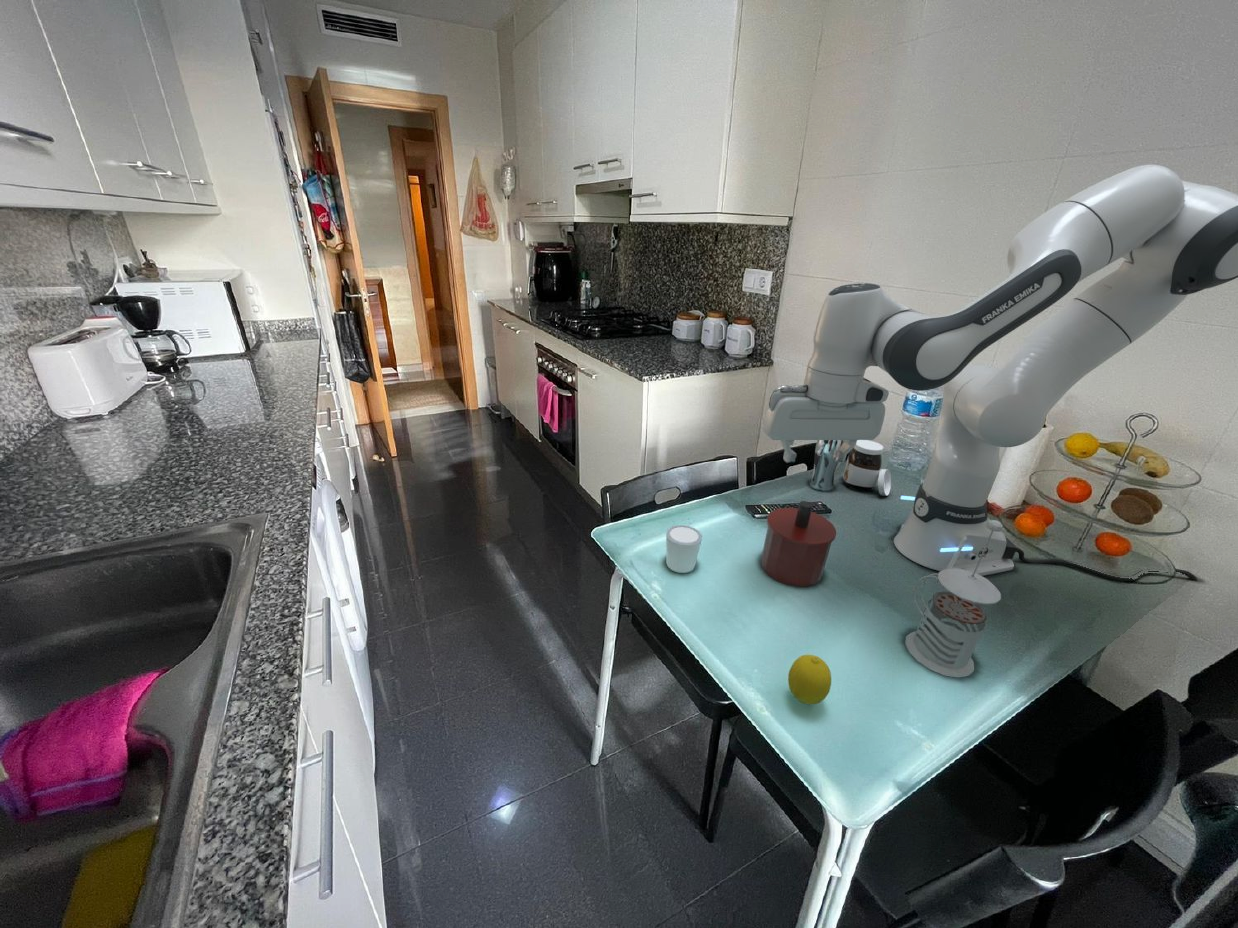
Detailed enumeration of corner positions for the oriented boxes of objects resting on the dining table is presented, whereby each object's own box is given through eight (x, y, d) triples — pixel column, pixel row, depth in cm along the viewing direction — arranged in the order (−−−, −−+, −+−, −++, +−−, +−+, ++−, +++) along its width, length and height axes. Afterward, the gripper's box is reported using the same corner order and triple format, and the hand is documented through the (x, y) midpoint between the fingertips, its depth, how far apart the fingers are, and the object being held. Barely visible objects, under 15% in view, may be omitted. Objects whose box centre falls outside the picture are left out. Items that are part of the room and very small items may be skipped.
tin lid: (816, 512, 102) (822, 487, 99) (847, 548, 91) (855, 521, 88) (756, 513, 100) (761, 488, 98) (781, 549, 89) (787, 522, 87)
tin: (805, 549, 105) (815, 511, 101) (832, 585, 95) (844, 544, 91) (752, 550, 104) (760, 511, 100) (773, 587, 94) (783, 545, 89)
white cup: (657, 557, 100) (660, 528, 97) (686, 550, 103) (690, 522, 100) (673, 578, 95) (677, 547, 92) (704, 570, 97) (709, 540, 94)
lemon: (826, 720, 68) (841, 678, 65) (785, 712, 69) (796, 670, 66) (820, 687, 73) (833, 647, 70) (781, 680, 74) (792, 640, 71)
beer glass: (802, 485, 132) (815, 432, 126) (813, 477, 137) (826, 426, 130) (828, 494, 128) (842, 441, 121) (838, 486, 133) (853, 434, 126)
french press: (947, 685, 75) (1011, 547, 64) (882, 632, 84) (929, 504, 74) (988, 666, 79) (1056, 533, 68) (922, 617, 88) (972, 493, 77)
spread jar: (840, 474, 139) (850, 435, 134) (883, 480, 137) (895, 441, 132) (845, 494, 129) (857, 453, 124) (893, 501, 126) (906, 460, 121)
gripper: (780, 390, 79) (765, 469, 85) (898, 392, 82) (875, 468, 88) (765, 379, 85) (751, 453, 91) (876, 381, 88) (856, 453, 93)
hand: (813, 460), depth 89 cm, fingers open, 8 cm apart
